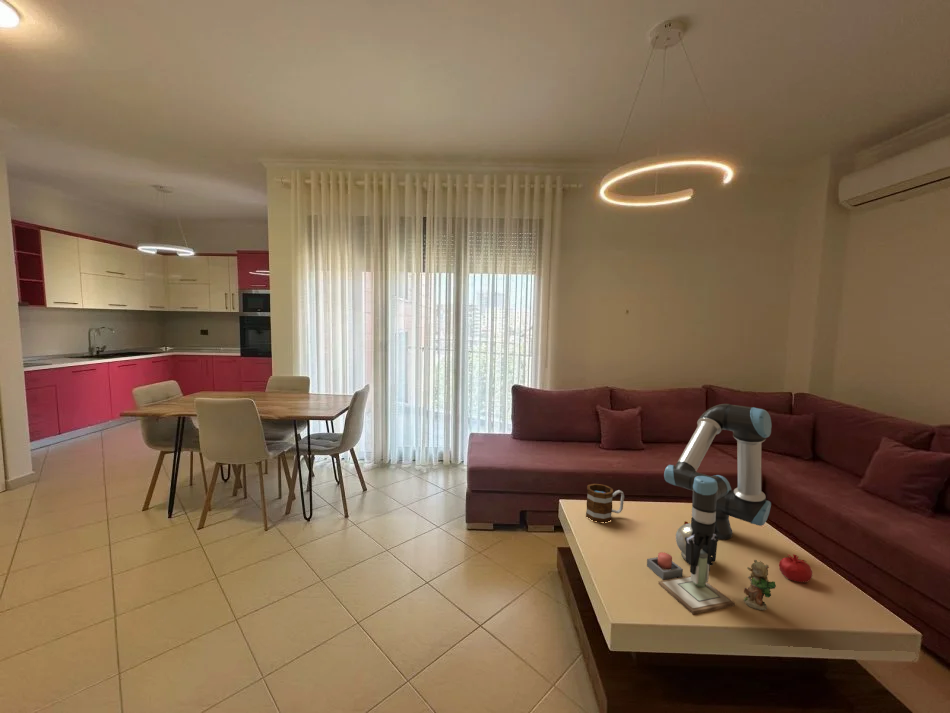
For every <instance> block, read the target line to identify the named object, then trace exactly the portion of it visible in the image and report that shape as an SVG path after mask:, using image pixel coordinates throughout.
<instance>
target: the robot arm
mask: <svg viewBox="0 0 950 713" xmlns="http://www.w3.org/2000/svg"><path fill="white" fill-rule="evenodd" d="M696 424H697V426H696V429H695V431H694V432H693V434H692V435H691V437H690V440H689V441H688V443H687V444H686V446H685V448H684V450H683V451H682V454H680V456H679V458H678V460H677V462H676V464H675V465H674V464H668V465H667V466H666V467H665V469H664V473H663V477H664V480H665V482H666V483H668V484H670V485H673V486H675V487H680V488H682V489H685V490H686V489H687V490H689V491H692V504H691V505H692V506H691V521H690V523H691V527H692V530H693V531H692V534H691V536H690V537H689V538H688V537H685V541H686V560H685V563H687V564H688V565H690V567H689V572H690V576H691V579H690V580H692V581H693V582H694V583H696V584H698V577H699V566H697V565H698V560H699V556H700V551H701V549H702V550H703V551H705V552H706V553H708V558H707V571H706V582H708V583H709V577H710V576H709V575H710V571H711V566H714V563H715V562H716V561H717V560H716V558H717V551H718V550H717V549H718V543H719V542H718V541H719V540H729V539H731V538H732V537H733V529H732V527H731V522H730V517H731V518H735V519H738V520H740V521H743V522H744V521H745V522H747V523H750V524H751V525H756V526H759V527H760V526H761V527H762V526H764V525H765V524H766V522H767V520H768V517H769V515H770V512H771V506H772V502H771V501H770V500H768V499H767V498H766V494H765V493H764V492H763V491H762V443H763V442H765V441H766V440H767V438H769V437H770V436H771V434H772V425H773V424H772V418H771V415H770V414H769V412H768V411H767V410H765V409H763V408H758V407H754V406H753V407H752V406H744V405H737V404H736V405H735V404H730V403H721V404H717V405H714V406H712V407H709V408H708V409H707V410H706V411H704V412H703V413H702V414H701V415H700V416H699V418H698V420H697V422H696ZM723 430H724V431H728V432H729V431H730V432H732V437H733V438H734V439H735V440H736V443H737V444H736V445H737V446H736V448H737V449H736V451H737V453H736V454H737V456H736V457H737V459H736V460H737V487H736V488H734V489H732V487H731V483H730V482H729V480H728V479H727V478H726V477H725V476H723V475H720V474H716V475H707V474H704V473H702V472H701V473H700V472H698V469H699V467H700V465H701V463H702V461H703V459H704V457H705V456H706V454H707V453H708V450H709V449H710V446H711V445H712V443H713V440H714V439H715V437H716V435H719V434H720V433H721V432H722V431H723Z"/></svg>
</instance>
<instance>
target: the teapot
mask: <svg viewBox="0 0 950 713" xmlns="http://www.w3.org/2000/svg"><path fill="white" fill-rule="evenodd" d="M692 531H693V530H692V527H691V522H690V521H686V520H685V521H684V520H683V524H682V525H681V526H679V528H677V531H676V533H675V542H676V543H675V544H676V545H677V547H678V548H679V550H680V551H681V553H680V554H681V557H682V558H683V560H685V561H686V541H685V537H688V538H689V537H690V536H691V534H692ZM701 550H702V549H701Z"/></svg>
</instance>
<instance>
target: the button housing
mask: <svg viewBox="0 0 950 713" xmlns="http://www.w3.org/2000/svg"><path fill="white" fill-rule="evenodd" d="M646 567H647V568H648V569H650V570H651V571H652V572H654V573H655V575H657V577H658V578H660V579H661V580H662V581H663V580H669V579H671V578H672V579H675V578H677V577H678V578H680V577H684V576H683V574H684V573H683V572H684V571H683V570H684V569H683V568H682V567H681V566H679V565H678V564H677V563H675V562H674V561H673V560H672V568H671V569H669V570H667V569H663V568H661V567H659V566H658V556H657V557H650V558H647V560H646Z"/></svg>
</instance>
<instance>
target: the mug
mask: <svg viewBox="0 0 950 713" xmlns="http://www.w3.org/2000/svg"><path fill="white" fill-rule="evenodd" d="M586 490H587V495H586V497H587V498H586V511H585V512H586V513H585V518H586V517H588V518H590V519H591V520H593V521H597V522H604V523H605V522H608V521H610V520H612V519H613V518H612V514H613V513H615V514H620V513H622V512H623V509H624V502H625V500H624V499H625V494H624V492H623V491H622V490H620V489H618V490H615V491H614V488H612V487H610V486H609V485H606V484H599V483H591V484H588V485H587V486H586ZM618 494H620V502H619V503H620V505H619V509H617V510H615V509H613V498H614V497H616V496H617V495H618ZM591 520H590V521H591ZM612 521H613V520H612ZM605 524H606V523H605Z"/></svg>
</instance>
